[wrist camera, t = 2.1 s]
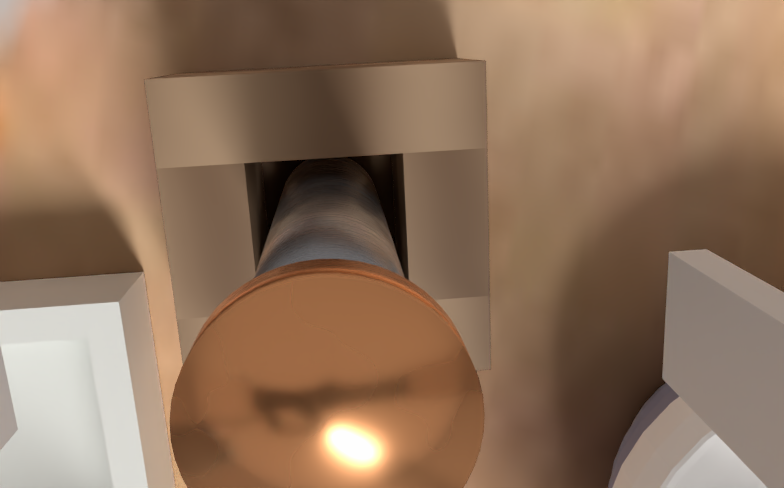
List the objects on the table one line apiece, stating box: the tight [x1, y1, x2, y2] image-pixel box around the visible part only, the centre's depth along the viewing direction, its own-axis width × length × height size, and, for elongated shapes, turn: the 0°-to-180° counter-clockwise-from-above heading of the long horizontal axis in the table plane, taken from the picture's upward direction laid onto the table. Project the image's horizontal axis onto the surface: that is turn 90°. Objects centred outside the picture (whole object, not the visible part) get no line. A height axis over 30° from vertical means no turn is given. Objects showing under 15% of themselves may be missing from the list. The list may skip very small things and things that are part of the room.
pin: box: [170, 157, 484, 488], centre depth 19 cm, size 5×5×17 cm
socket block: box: [144, 58, 491, 371], centre depth 25 cm, size 10×10×5 cm
